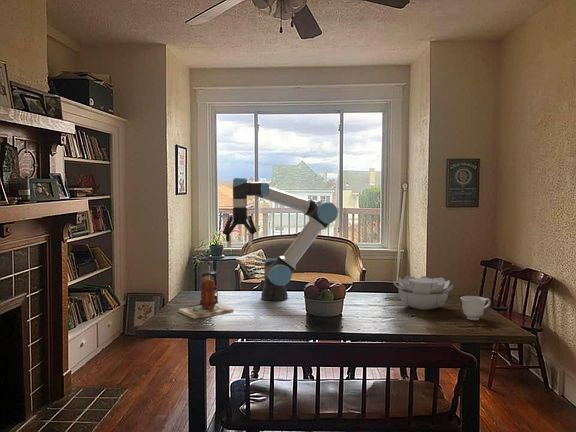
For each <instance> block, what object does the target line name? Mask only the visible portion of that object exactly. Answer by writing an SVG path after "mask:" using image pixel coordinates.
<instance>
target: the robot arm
mask: <svg viewBox="0 0 576 432" xmlns="http://www.w3.org/2000/svg"><path fill="white" fill-rule="evenodd" d="M251 196H252V197H253V196H254V197H257V198H260V199H263V200H266V201H270V202H273V203H275V204H278V205H281V206H284V207H286V208H290V209H292V210H294V211H295V210H296V211H299V212H302V214H303V215H304V216H308V221H307V223H306V224H305V225H304V227H303V228H302V229H301V231H300V232H299V233H298V234H297V236H296V238H295V239H294V240H293V241H292V242H291V244H290V246H289V247H288V248H287V249H286V251H285V252H284V254H283V255H279V256H278V257H277V258H265V259H264V263H263V265H264V266H263V267H264V270H263V271H264V276H263V277H264V281H263V283H264V285H263V288H262V292H261V294H260V295H261V299H262V300H264V301H268V302H270V301H271V302H280V301H286V300H287V299H289V296H288V291H287V288H286V285H288V283H289V282H290V281H291V280H292V276H293V274H294V272H295V271H296V269H297V268H296V265H297V264H298V262H299V261H300V260H301V258H302V257H303V255H304V254H305V253H306V251H308V250H309V247H310V246H311V245H312V244H313V242H314V241H315V240H316V238H317V237H318V235H319V234H320V233H321V231H323V230H327V228H329V227H328V226H329V225H330V224H331V223H333V222H335V221H336V220H337V217H338V215H339V213H338V212H339V211H338V207H337V205H335V204H334V203H333V202H332V201H331V202H330V201H328V200H325V201H324V200H314V199H311V198H307V199H306V198H305V197H304V198H303V197H300V196H298V195H294V194H292V193H288V192H287V191H286V192H285V191H283V190H280V189H277V188H274V187H272V186H270V183H269V182H268V181H248V178H246V177H235V178H233V179H232V206H233V207H232V215H233V216H227V221H226V223H225V226H224V228H223V231H222V235H225V242H226V247H227V248H232V235H231V234H232V232H233V231H234V229H235V228H236V226H237V225H243V226H244V227H245V229H246V230H247V231H248V236H247V237H248V244H247V245H248V246H250V247H253V240H254V234H255V233H257V228H256V226H255V223H254V221H253V216H252V215H247V214H248V208H247V206H248V197H251ZM247 221H248V222H247Z"/></svg>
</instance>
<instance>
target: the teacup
mask: <svg viewBox="0 0 576 432" xmlns="http://www.w3.org/2000/svg"><path fill="white" fill-rule="evenodd" d="M460 300H461V304H462V311H463V314H464V315H465V316H466V319H467V320H471V321H479V320H480V317H481V316H483V314H484V310H485V309H487V308H488V307H490V305H491V302H492V301H491V299H490V298H488V297H483V296H476V295H463V296H461V297H460ZM485 304H486V305H485Z"/></svg>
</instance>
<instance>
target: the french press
mask: <svg viewBox="0 0 576 432" xmlns="http://www.w3.org/2000/svg"><path fill="white" fill-rule="evenodd" d="M205 263H206V264H207V263H208V270H207V271H201V272H200V274H201V277H202V278H204V277H206V276H208V278H209V280H211V277H212V278H216V277H218V271H215V270H210V269H211V268H210V267H211V263H213V261H211V260H208V261H205ZM213 280H214V281H215V286H216V288H217V289H216V290H215V294H216V295H215V299H216V302H217V304H219V300H218V298H219V297H218V296H219V294H218V293H219V292H218V291H219V290H218V288H219V286H218V284H219V283H218V282H219V281H218V280H216V279H213ZM202 281H203V280H200V287H201V286H202ZM200 300H202V290H201V289H200Z"/></svg>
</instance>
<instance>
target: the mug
mask: <svg viewBox="0 0 576 432" xmlns="http://www.w3.org/2000/svg"><path fill="white" fill-rule="evenodd" d="M214 280H215V279H210V280H209V276H204V277H203V280H201V281H202V286H201V285H200V291H201V290H202V300H201V299H200V300H199V303H200V305H202V308H203V309H213V308H214V307H215V305H216V304H218V303H217V302H216V299H215V296H216V293H215V290H216V291H217V285H215V281H214Z"/></svg>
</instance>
